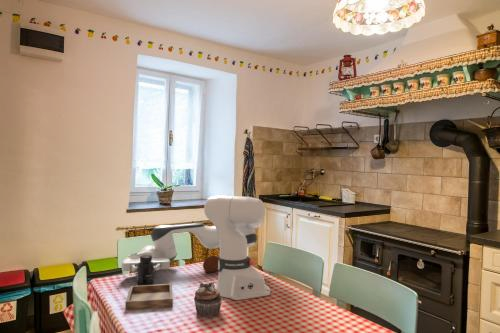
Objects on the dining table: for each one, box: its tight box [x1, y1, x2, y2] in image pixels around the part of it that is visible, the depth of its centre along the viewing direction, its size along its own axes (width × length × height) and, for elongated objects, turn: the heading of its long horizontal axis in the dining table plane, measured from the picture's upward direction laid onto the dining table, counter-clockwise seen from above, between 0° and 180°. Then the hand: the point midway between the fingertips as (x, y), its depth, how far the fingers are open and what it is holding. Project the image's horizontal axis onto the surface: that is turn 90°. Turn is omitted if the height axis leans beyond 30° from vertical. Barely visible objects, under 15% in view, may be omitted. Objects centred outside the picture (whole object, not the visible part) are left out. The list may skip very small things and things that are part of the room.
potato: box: [202, 255, 219, 274], centre depth 166 cm, size 8×11×8 cm
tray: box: [125, 283, 174, 311], centre depth 129 cm, size 16×16×3 cm
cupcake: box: [193, 281, 223, 319], centre depth 119 cm, size 10×10×10 cm
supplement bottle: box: [136, 255, 155, 286], centre depth 146 cm, size 7×7×12 cm
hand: (145, 269), depth 145 cm, fingers closed on supplement bottle, 7 cm apart
